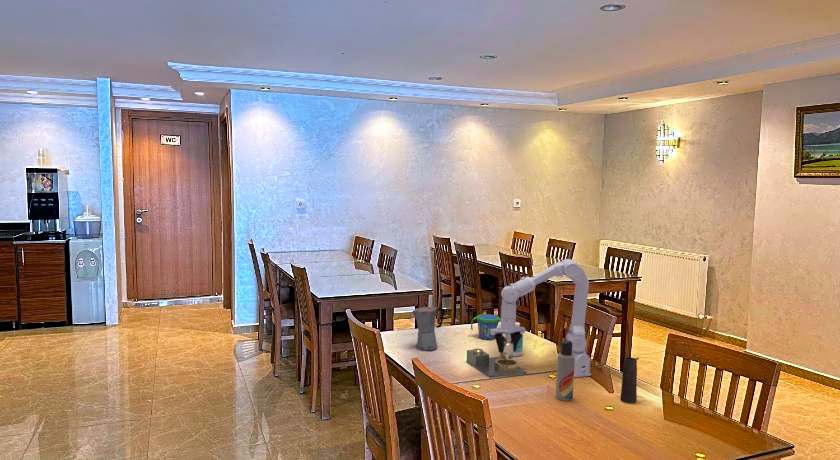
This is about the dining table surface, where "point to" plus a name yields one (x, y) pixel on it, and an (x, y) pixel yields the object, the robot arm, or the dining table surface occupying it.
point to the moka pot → (427, 326)
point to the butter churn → (629, 377)
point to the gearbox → (493, 364)
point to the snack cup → (486, 325)
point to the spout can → (507, 349)
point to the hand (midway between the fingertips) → (506, 351)
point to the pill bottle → (520, 343)
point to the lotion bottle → (565, 372)
